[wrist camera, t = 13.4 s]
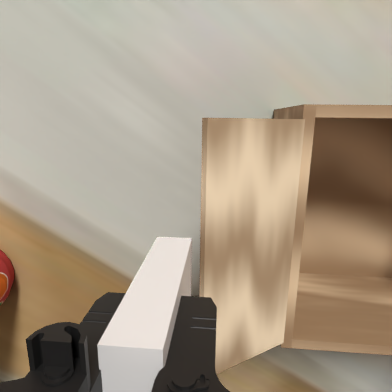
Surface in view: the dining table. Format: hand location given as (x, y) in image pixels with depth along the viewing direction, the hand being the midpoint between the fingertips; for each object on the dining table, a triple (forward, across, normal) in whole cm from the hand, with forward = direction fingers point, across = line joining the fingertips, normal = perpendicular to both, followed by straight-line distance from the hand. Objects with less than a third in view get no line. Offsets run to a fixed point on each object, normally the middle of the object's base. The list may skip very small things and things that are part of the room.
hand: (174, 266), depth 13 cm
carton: (+13, -12, 0) cm, 17 cm away
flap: (+4, -6, 0) cm, 7 cm away
